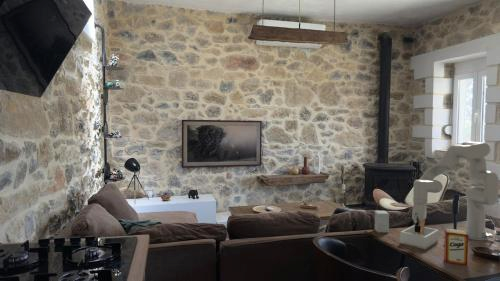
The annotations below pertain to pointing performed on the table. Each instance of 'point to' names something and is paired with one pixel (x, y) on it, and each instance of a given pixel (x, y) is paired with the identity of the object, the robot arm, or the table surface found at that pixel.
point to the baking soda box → (456, 246)
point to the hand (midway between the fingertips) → (419, 230)
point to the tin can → (421, 227)
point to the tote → (419, 237)
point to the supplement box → (381, 221)
